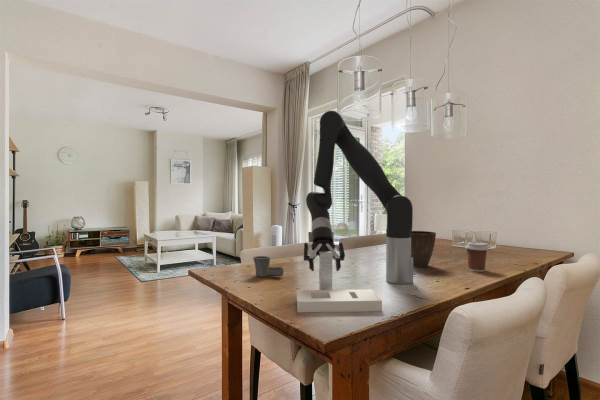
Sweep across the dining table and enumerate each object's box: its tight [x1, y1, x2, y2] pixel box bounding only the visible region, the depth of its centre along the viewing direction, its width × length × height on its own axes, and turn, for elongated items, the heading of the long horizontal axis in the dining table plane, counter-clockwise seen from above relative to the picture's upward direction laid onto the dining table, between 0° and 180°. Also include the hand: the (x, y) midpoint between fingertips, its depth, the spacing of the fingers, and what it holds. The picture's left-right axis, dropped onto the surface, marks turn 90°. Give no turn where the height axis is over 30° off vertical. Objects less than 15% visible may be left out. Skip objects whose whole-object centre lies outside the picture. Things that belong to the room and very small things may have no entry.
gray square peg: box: [318, 251, 333, 290], centre depth 106 cm, size 4×4×14 cm
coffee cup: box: [465, 241, 489, 273], centre depth 140 cm, size 9×9×12 cm
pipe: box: [252, 255, 284, 278], centre depth 129 cm, size 6×13×8 cm, turn 78°
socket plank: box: [296, 288, 383, 313], centre depth 94 cm, size 24×11×3 cm, turn 92°
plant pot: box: [411, 230, 437, 268], centre depth 150 cm, size 15×15×16 cm
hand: (325, 269), depth 105 cm, fingers open, 8 cm apart
